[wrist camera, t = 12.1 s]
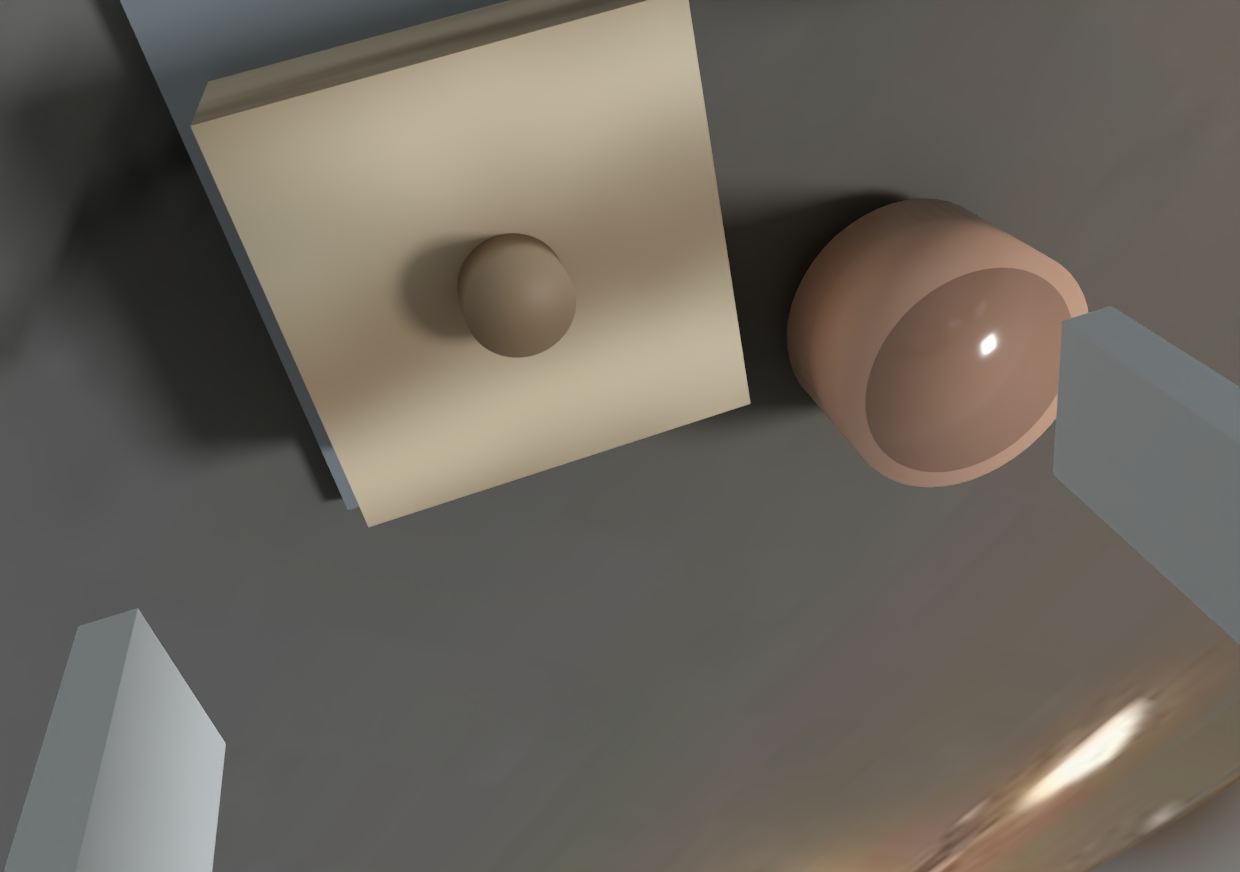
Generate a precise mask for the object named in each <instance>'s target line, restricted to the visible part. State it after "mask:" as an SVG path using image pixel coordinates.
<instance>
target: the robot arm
mask: <svg viewBox="0 0 1240 872" xmlns="http://www.w3.org/2000/svg"><path fill="white" fill-rule="evenodd" d="M1053 475H1054V476H1056V477H1057V478H1058V479H1059V480H1060V481H1061V482H1062V483H1063V484H1064V485H1065V486H1066V487H1068V488H1069V489H1070V490H1071V491H1072V492H1073V493H1074V494H1075V495H1076V496H1077V497H1079V498H1080V499H1081V500H1082V501H1083V502H1084V503H1085V504H1086V505H1087V506H1088V507H1089V508H1091V509H1092V510H1093V511H1094V512H1095V513H1096V514H1097V515H1098V516H1099V517H1100V518H1102V519H1103V520H1104V521H1105V522H1106V523H1107V524H1108V525H1109V526H1110V527H1111V528H1112V529H1114V530H1115V531H1116V532H1117V533H1118V534H1119V535H1120V536H1121V537H1122V538H1123V539H1124V540H1126V541H1127V542H1128V543H1129V544H1130V545H1131V546H1132V547H1133V548H1134V549H1135V550H1137V551H1138V552H1139V553H1140V554H1141V555H1142V556H1143V557H1144V558H1145V559H1146V560H1147V561H1149V562H1150V563H1151V564H1152V565H1153V566H1154V567H1155V568H1156V569H1157V570H1158V571H1159V572H1161V573H1162V574H1163V575H1164V576H1165V577H1166V578H1167V579H1168V580H1169V581H1170V582H1172V583H1173V584H1174V585H1175V586H1176V587H1177V588H1178V589H1179V590H1180V591H1181V592H1182V593H1184V594H1185V595H1186V596H1187V597H1188V598H1189V599H1190V600H1191V601H1192V602H1193V603H1194V604H1196V605H1197V606H1198V607H1199V608H1200V609H1201V610H1202V611H1203V612H1204V613H1205V614H1207V615H1208V616H1209V617H1210V618H1211V619H1212V620H1213V621H1214V622H1215V623H1216V624H1217V625H1219V626H1220V627H1221V628H1222V629H1223V630H1224V631H1225V632H1226V633H1227V634H1228V635H1229V636H1231V637H1232V638H1233V639H1234V640H1235V641H1236V642H1237V643H1238V644H1239V645H1240V387H1239V386H1237V385H1236V384H1234V383H1232V382H1231V381H1229V380H1228V379H1226V378H1225V377H1223V376H1221V375H1220V374H1218V373H1217V372H1215V371H1213V370H1212V369H1210V368H1209V367H1207V366H1206V365H1204V364H1202V363H1201V362H1199V361H1198V360H1196V359H1194V358H1193V357H1191V356H1190V355H1188V354H1187V353H1185V352H1183V351H1182V350H1180V349H1179V348H1177V347H1176V346H1174V345H1172V344H1171V343H1169V342H1168V341H1166V340H1164V339H1163V338H1161V337H1160V336H1158V335H1157V334H1155V333H1153V332H1152V331H1150V330H1149V329H1147V328H1145V327H1144V326H1142V325H1141V324H1139V323H1138V322H1136V321H1134V320H1133V319H1131V318H1130V317H1128V316H1126V315H1125V314H1123V313H1122V312H1120V311H1119V310H1117V309H1115V308H1114V307H1112V306H1109V307H1106V308H1103V309H1100V310H1096V311H1093V312H1090V313H1087V314H1083V315H1080V316H1077V317H1074V318H1071V319H1067V320H1064V321H1062V334H1061V350H1060V366H1059V382H1058V399H1057V415H1056V431H1055V447H1054V463H1053ZM225 746H226V743H225V742H224V740H223V739H222V737H221V736H220V734H219V733H218V731H217V730H216V728H215V726H214V725H213V723H212V722H211V720H210V719H209V717H208V716H207V714H206V713H205V711H204V709H203V708H202V706H201V705H200V703H199V702H198V700H197V699H196V697H195V696H194V694H193V693H192V691H191V689H190V688H189V686H188V685H187V683H186V682H185V680H184V679H183V677H182V676H181V674H180V673H179V671H178V669H177V668H176V666H175V665H174V663H173V662H172V660H171V659H170V657H169V656H168V654H167V652H166V651H165V649H164V648H163V646H162V645H161V643H160V642H159V640H158V639H157V637H156V636H155V634H154V632H153V631H152V629H151V628H150V626H149V625H148V623H147V622H146V620H145V619H144V617H143V615H142V614H141V612H140V611H139V609H138V608H137V609H133V610H130V611H127V612H124V613H121V614H117V615H114V616H111V617H108V618H105V619H101V620H98V621H95V622H92V623H88V624H85V625H82V626H79V627H78V629H77V632H76V636H75V639H74V642H73V646H72V649H71V652H70V656H69V659H68V662H67V665H66V669H65V672H64V675H63V679H62V682H61V685H60V688H59V692H58V695H57V698H56V702H55V705H54V708H53V712H52V715H51V718H50V721H49V725H48V728H47V731H46V735H45V738H44V741H43V744H42V748H41V751H40V754H39V758H38V761H37V764H36V768H35V771H34V774H33V777H32V781H31V784H30V787H29V791H28V794H27V797H26V800H25V804H24V807H23V810H22V814H21V817H20V820H19V824H18V827H17V830H16V833H15V837H14V840H13V843H12V847H11V850H10V853H9V856H8V860H7V863H6V866H5V870H4V872H212V867H213V858H214V849H215V839H216V830H217V821H218V811H219V802H220V793H221V783H222V774H223V765H224V756H225Z"/></svg>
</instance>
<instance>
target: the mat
mask: <svg viewBox="0 0 1240 872" xmlns="http://www.w3.org/2000/svg"><path fill="white" fill-rule="evenodd" d="M504 1H508V0H120V2H121V4H122V6H123V8H124V11H125V13H126V15H127V17H128V20H129V22H130V24H131V26H132V29H133V31H134V33H135V35H136V37H137V40H138V42H139V44H140V46H141V49H142V51H143V53H144V55H145V58H146V60H147V62H148V64H149V67H150V69H151V71H152V73H153V76H154V78H155V80H156V82H157V84H158V87H159V89H160V91H161V93H162V96H163V98H164V100H165V102H166V105H167V107H168V109H169V111H170V114H171V116H172V118H173V120H174V122H175V125H176V127H177V129H178V131H179V134H180V136H181V138H182V140H183V143H184V145H185V147H186V149H187V152H188V154H189V156H190V158H191V161H192V163H193V165H194V167H195V169H196V172H197V174H198V176H199V178H200V181H201V183H202V185H203V187H204V190H205V192H206V194H207V196H208V199H209V201H210V203H211V205H212V207H213V210H214V212H215V214H216V216H217V219H218V221H219V223H220V225H221V228H222V230H223V232H224V234H225V237H226V239H227V241H228V243H229V246H230V248H231V250H232V252H233V254H234V257H235V259H236V261H237V263H238V266H239V268H240V270H241V272H242V275H243V277H244V279H245V281H246V284H247V286H248V288H249V290H250V292H251V295H252V297H253V299H254V301H255V304H256V306H257V308H258V310H259V313H260V315H261V317H262V319H263V322H264V324H265V326H266V328H267V331H268V333H269V335H270V337H271V339H272V342H273V344H274V346H275V348H276V351H277V353H278V355H279V357H280V360H281V362H282V364H283V366H284V369H285V371H286V373H287V375H288V377H289V380H290V382H291V384H292V386H293V389H294V391H295V393H296V395H297V398H298V400H299V402H300V404H301V407H302V409H303V411H304V413H305V416H306V418H307V420H308V422H309V424H310V427H311V429H312V431H313V433H314V436H315V438H316V440H317V442H318V445H319V447H320V449H321V451H322V454H323V456H324V458H325V460H326V462H327V465H328V467H329V469H330V471H331V474H332V476H333V478H334V480H335V483H336V485H337V487H338V489H339V492H340V494H341V496H342V498H343V501H344V503H345V505H346V507H347V509H348V510H350V509H353V508H356V507H359V504H358V502H357V500H356V498H355V495H354V493H353V491H352V489H351V486H350V484H349V482H348V480H347V477H346V475H345V473H344V471H343V468H342V466H341V464H340V462H339V459H338V457H337V455H336V453H335V450H334V448H333V446H332V444H331V441H330V439H329V437H328V435H327V432H326V430H325V428H324V426H323V423H322V421H321V419H320V417H319V414H318V412H317V410H316V408H315V405H314V403H313V401H312V399H311V396H310V394H309V392H308V390H307V387H306V385H305V383H304V381H303V378H302V376H301V374H300V372H299V369H298V367H297V365H296V363H295V360H294V358H293V356H292V354H291V351H290V349H289V347H288V345H287V342H286V340H285V338H284V336H283V333H282V331H281V329H280V327H279V324H278V322H277V320H276V318H275V315H274V313H273V311H272V309H271V306H270V304H269V302H268V300H267V297H266V295H265V293H264V291H263V288H262V286H261V284H260V282H259V279H258V277H257V275H256V273H255V270H254V268H253V266H252V264H251V261H250V259H249V257H248V255H247V252H246V250H245V248H244V246H243V243H242V241H241V239H240V237H239V234H238V232H237V230H236V228H235V225H234V223H233V221H232V219H231V216H230V214H229V212H228V210H227V207H226V205H225V203H224V201H223V198H222V196H221V194H220V192H219V189H218V187H217V185H216V183H215V180H214V178H213V176H212V174H211V171H210V169H209V167H208V165H207V162H206V160H205V158H204V156H203V153H202V151H201V149H200V147H199V144H198V142H197V140H196V138H195V135H194V133H193V131H192V129H191V126H190V125H191V123H192V120H193V118H194V116H195V113H196V111H197V108H198V106H199V103H200V101H201V98H202V96H203V93H204V91H205V88H206V86H207V83H208V81H212V80H216V79H219V78H223V77H227V76H231V75H234V74H238V73H242V72H245V71H249V70H253V69H256V68H260V67H264V66H268V65H271V64H275V63H279V62H282V61H286V60H290V59H293V58H297V57H301V56H304V55H308V54H312V53H316V52H319V51H323V50H327V49H330V48H334V47H338V46H341V45H345V44H349V43H353V42H356V41H360V40H364V39H367V38H371V37H375V36H378V35H382V34H386V33H390V32H393V31H397V30H401V29H404V28H408V27H412V26H415V25H419V24H423V23H426V22H430V21H434V20H438V19H441V18H445V17H449V16H452V15H456V14H460V13H463V12H467V11H471V10H475V9H478V8H482V7H486V6H489V5H493V4H497V3H500V2H504Z"/></svg>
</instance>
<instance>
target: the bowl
mask: <svg viewBox="0 0 1240 872" xmlns="http://www.w3.org/2000/svg"><path fill="white" fill-rule="evenodd" d="M1087 313H1088V307H1087V304H1086V301H1085V298H1084V295H1083V293H1082V291H1081V289H1080V287H1079V285H1078V283H1077V282H1076V280H1075V279H1074V278H1073V277H1072V275H1071V274H1070V273H1069V272H1068V271H1067V270H1066V269H1065V268H1064V267H1063V266H1061V265H1060V264H1059V263H1057V262H1056V261H1054V260H1052V259H1051V258H1049V257H1047V256H1046V255H1044V254H1042V253H1040V252H1039V251H1037V250H1035V249H1034V248H1032V247H1030V246H1028V245H1027V244H1025V243H1023V242H1022V241H1020V240H1018V239H1016V238H1015V237H1013V236H1011V235H1010V234H1008V233H1006V232H1004V231H1003V230H1001V229H999V228H998V227H996V226H994V225H992V224H991V223H989V222H987V221H986V220H984V219H982V218H980V217H979V216H977V215H975V214H974V213H972V212H970V211H969V210H967V209H965V208H963V207H961V206H959V205H956V204H954V203H951V202H947V201H942V200H937V199H912V200H905V201H900V202H896V203H892V204H889V205H886V206H884V207H881V208H878V209H876V210H874V211H872V212H870V213H868V214H866V215H864V216H862V217H861V218H859V219H858V220H856V221H855V222H853V223H851V224H850V225H848V226H847V227H846V228H845V229H844V230H842V231H841V232H840V233H839V234H837V235H836V236H835V237H834V238H833V239H832V240H831V241H830V242H829V243H828V244H827V245H826V246H825V247H824V248H823V249H822V251H821V252H820V253H819V254H818V256H817V257H816V258H815V260H814V261H813V262H812V264H811V265H810V267H809V268H808V270H807V272H806V273H805V275H804V276H803V278H802V280H801V283H800V285H799V287H798V289H797V291H796V294H795V296H794V299H793V302H792V305H791V309H790V314H789V318H788V326H787V350H788V355H789V360H790V364H791V366H792V369H793V372H794V374H795V376H796V378H797V380H798V382H799V383H800V385H801V386H802V388H803V389H804V390H805V391H806V393H807V394H808V395H809V396H810V397H811V398H812V400H813V401H814V402H815V403H816V404H817V405H818V406H819V408H820V409H821V410H822V411H823V412H824V413H825V414H826V416H827V417H828V418H829V419H830V420H831V421H832V422H833V424H834V425H835V426H836V427H837V428H838V429H839V430H840V432H841V433H842V434H843V435H844V436H845V437H846V438H847V440H848V441H849V442H850V443H851V444H852V445H853V446H854V448H855V449H856V450H857V451H858V452H859V453H860V454H861V456H862V457H863V458H864V459H865V460H866V461H867V462H868V464H870V465H871V466H872V467H873V468H874V469H875V470H876V471H878V472H879V473H881V474H882V475H884V476H886V477H887V478H889V479H892V480H894V481H897V482H899V483H903V484H907V485H911V486H919V487H942V486H948V485H954V484H958V483H962V482H965V481H969V480H972V479H975V478H977V477H980V476H982V475H985V474H987V473H989V472H991V471H993V470H995V469H997V468H999V467H1000V466H1002V465H1004V464H1005V463H1007V462H1008V461H1010V460H1012V459H1013V458H1015V457H1016V456H1017V455H1019V454H1020V453H1021V452H1022V451H1024V450H1025V449H1026V448H1028V447H1029V446H1030V445H1031V444H1032V443H1033V442H1034V441H1035V440H1036V439H1038V438H1039V437H1040V436H1041V435H1042V433H1043V432H1044V431H1045V430H1046V429H1047V428H1048V427H1049V426H1050V425H1051V424H1052V422H1053V421H1054V420H1055V418H1056V415H1057V399H1058V382H1059V366H1060V350H1061V334H1062V321H1064V320H1067V319H1071V318H1074V317H1077V316H1080V315H1083V314H1087Z"/></svg>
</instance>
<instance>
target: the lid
mask: <svg viewBox="0 0 1240 872" xmlns="http://www.w3.org/2000/svg"><path fill="white" fill-rule="evenodd" d="M190 126H191V129H192V131H193V133H194V135H195V138H196V140H197V142H198V144H199V147H200V149H201V151H202V153H203V156H204V158H205V160H206V162H207V165H208V167H209V169H210V171H211V174H212V176H213V178H214V180H215V183H216V185H217V187H218V189H219V192H220V194H221V196H222V198H223V201H224V203H225V205H226V207H227V210H228V212H229V214H230V216H231V219H232V221H233V223H234V225H235V228H236V230H237V232H238V234H239V237H240V239H241V241H242V243H243V246H244V248H245V250H246V252H247V255H248V257H249V259H250V261H251V264H252V266H253V268H254V270H255V273H256V275H257V277H258V279H259V282H260V284H261V286H262V288H263V291H264V293H265V295H266V297H267V300H268V302H269V304H270V306H271V309H272V311H273V313H274V315H275V318H276V320H277V322H278V324H279V327H280V329H281V331H282V333H283V336H284V338H285V340H286V342H287V345H288V347H289V349H290V351H291V354H292V356H293V358H294V360H295V363H296V365H297V367H298V369H299V372H300V374H301V376H302V378H303V381H304V383H305V385H306V387H307V390H308V392H309V394H310V396H311V399H312V401H313V403H314V405H315V408H316V410H317V412H318V414H319V417H320V419H321V421H322V423H323V426H324V428H325V430H326V432H327V435H328V437H329V439H330V441H331V444H332V446H333V448H334V450H335V453H336V455H337V457H338V459H339V462H340V464H341V466H342V468H343V471H344V473H345V475H346V477H347V480H348V482H349V484H350V486H351V489H352V491H353V493H354V495H355V498H356V500H357V502H358V504H359V507H360V509H361V511H362V513H363V516H364V518H365V520H366V522H367V525H368V527H371V526H374V525H377V524H380V523H383V522H386V521H389V520H392V519H396V518H399V517H402V516H405V515H408V514H411V513H414V512H417V511H420V510H423V509H426V508H430V507H433V506H436V505H439V504H442V503H445V502H448V501H451V500H454V499H457V498H460V497H464V496H467V495H470V494H473V493H476V492H479V491H482V490H485V489H488V488H491V487H495V486H498V485H501V484H504V483H507V482H510V481H513V480H516V479H519V478H522V477H525V476H529V475H532V474H535V473H538V472H541V471H544V470H547V469H550V468H553V467H556V466H559V465H563V464H566V463H569V462H572V461H575V460H578V459H581V458H584V457H587V456H590V455H593V454H597V453H600V452H603V451H606V450H609V449H612V448H615V447H618V446H621V445H624V444H627V443H631V442H634V441H637V440H640V439H643V438H646V437H649V436H652V435H655V434H658V433H662V432H665V431H668V430H671V429H674V428H677V427H680V426H683V425H686V424H689V423H692V422H696V421H699V420H702V419H705V418H708V417H711V416H714V415H717V414H720V413H723V412H726V411H730V410H733V409H736V408H739V407H742V406H745V405H748V404H751V403H750V397H749V390H748V384H747V377H746V371H745V364H744V358H743V351H742V345H741V338H740V332H739V325H738V319H737V312H736V306H735V299H734V293H733V286H732V280H731V273H730V267H729V260H728V254H727V247H726V241H725V234H724V228H723V221H722V215H721V208H720V202H719V195H718V189H717V182H716V176H715V169H714V163H713V156H712V150H711V143H710V137H709V130H708V124H707V117H706V111H705V104H704V98H703V91H702V85H701V78H700V72H699V65H698V59H697V52H696V46H695V39H694V33H693V26H692V20H691V13H690V7H689V0H508V1H504V2H500V3H497V4H493V5H489V6H486V7H482V8H478V9H475V10H471V11H467V12H463V13H460V14H456V15H452V16H449V17H445V18H441V19H438V20H434V21H430V22H426V23H423V24H419V25H415V26H412V27H408V28H404V29H401V30H397V31H393V32H390V33H386V34H382V35H378V36H375V37H371V38H367V39H364V40H360V41H356V42H353V43H349V44H345V45H341V46H338V47H334V48H330V49H327V50H323V51H319V52H316V53H312V54H308V55H304V56H301V57H297V58H293V59H290V60H286V61H282V62H279V63H275V64H271V65H268V66H264V67H260V68H256V69H253V70H249V71H245V72H242V73H238V74H234V75H231V76H227V77H223V78H219V79H216V80H212V81H208V83H207V86H206V88H205V91H204V93H203V96H202V98H201V101H200V103H199V106H198V108H197V111H196V113H195V116H194V118H193V120H192V123H191V125H190Z"/></svg>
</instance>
